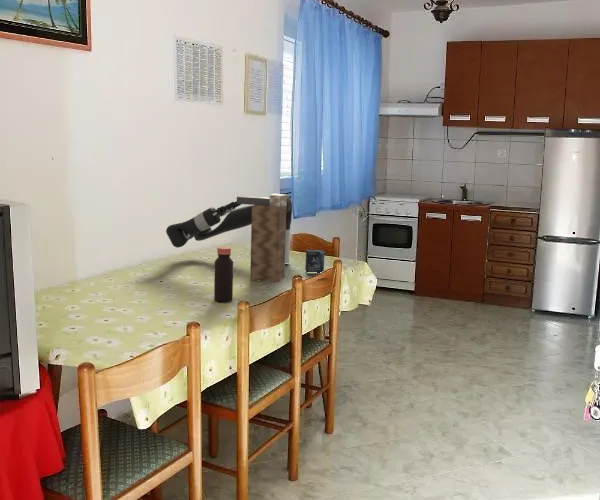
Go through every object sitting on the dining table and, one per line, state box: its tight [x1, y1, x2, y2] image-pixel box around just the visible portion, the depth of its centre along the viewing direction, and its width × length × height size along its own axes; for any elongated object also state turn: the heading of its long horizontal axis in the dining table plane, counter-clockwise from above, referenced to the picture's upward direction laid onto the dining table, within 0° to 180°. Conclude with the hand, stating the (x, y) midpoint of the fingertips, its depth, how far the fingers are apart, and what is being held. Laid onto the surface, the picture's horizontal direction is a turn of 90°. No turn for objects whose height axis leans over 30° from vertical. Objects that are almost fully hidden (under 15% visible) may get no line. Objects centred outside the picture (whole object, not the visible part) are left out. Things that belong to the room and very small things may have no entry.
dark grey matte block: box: [236, 195, 270, 206], centre depth 272 cm, size 19×4×3 cm, turn 78°
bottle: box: [213, 246, 234, 303], centre depth 237 cm, size 7×7×20 cm
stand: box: [249, 193, 288, 283], centre depth 274 cm, size 12×12×37 cm
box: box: [304, 249, 325, 273], centre depth 291 cm, size 8×6×11 cm
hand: (238, 202), depth 275 cm, fingers open, 8 cm apart
